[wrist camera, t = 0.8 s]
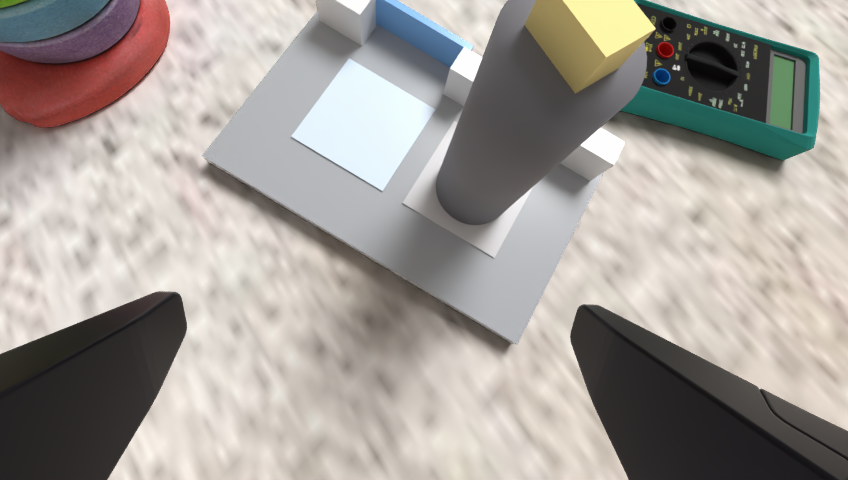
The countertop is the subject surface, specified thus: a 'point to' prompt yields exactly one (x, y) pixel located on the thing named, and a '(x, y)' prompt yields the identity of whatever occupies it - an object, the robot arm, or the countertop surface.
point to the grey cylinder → (539, 98)
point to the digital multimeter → (728, 84)
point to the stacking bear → (75, 54)
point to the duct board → (401, 160)
